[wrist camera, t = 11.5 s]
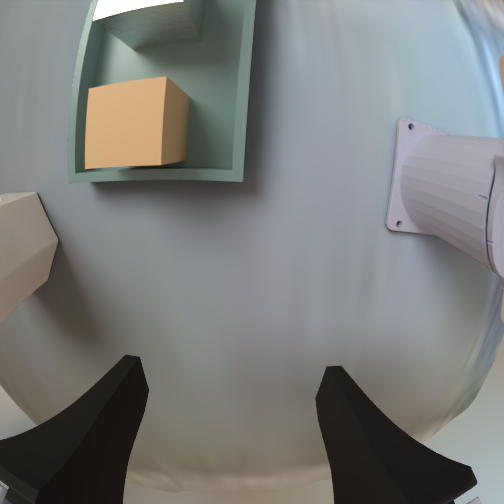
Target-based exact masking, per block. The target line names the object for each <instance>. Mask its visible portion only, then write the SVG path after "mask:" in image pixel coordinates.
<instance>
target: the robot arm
mask: <svg viewBox="0 0 504 504" xmlns="http://www.w3.org/2000/svg"><path fill="white" fill-rule="evenodd" d="M409 124H410V125H411V130H410V129H409V127H408V125H409ZM398 221H399V225H398V226H396V223H397V222H398ZM386 227H387V228H388V229H390V230H394V231H403V232H412V233H420V234H429V235H436V236H438V237H440V238H441V239H443V240H445V241H447V242H448V243H450V244H452V245H453V246H455V247H456V248H458V249H460V250H461V251H463V252H465V253H466V254H468V255H469V256H471V257H472V258H474V259H475V260H477V261H478V262H480V263H482V264H483V265H484V266H486V267H487V268H489V269H490V270H492V271H493V272H495V273H496V274H498V276H499V277H500V279H501V289H503V290H504V139H495V138H486V137H474V136H458V135H450V134H448V133H445V132H443V131H440V130H437V129H435V128H432V127H429V126H427V125H424V124H421V123H418V122H415V121H412V120H409V119H406V118H401V119H399V120H398V122H397V135H396V148H395V159H394V168H393V177H392V184H391V191H390V198H389V204H388V211H387V216H386ZM148 393H149V388H148V385H147V381H146V378H145V374H144V371H143V367H142V363H141V359H140V357H137V356H131V355H125V356H124V357H123V358H122V359H121V360H120V361H119V362H118V363H117V364H116V365H115V366H114V367H113V368H111V369H110V370H109V371H108V372H107V373H106V374H105V375H104V376H103V377H102V378H101V379H100V380H99V381H98V382H97V383H96V384H95V385H94V386H93V387H92V388H90V389H89V390H88V391H87V392H86V393H85V394H84V395H82V396H81V397H80V398H79V399H78V400H76V401H75V402H74V403H73V404H71V405H70V406H69V407H67V408H66V409H65V410H63V411H62V412H60V413H59V414H57V415H56V416H54V417H53V418H51V419H49V420H48V421H46V422H44V423H42V424H40V425H39V426H37V427H35V428H33V429H30V430H28V431H26V432H24V433H21V434H19V435H16V436H13V437H10V438H7V439H3V440H0V480H1V481H2V482H3V483H4V484H6V485H7V486H8V487H9V489H8V490H7V489H5V488H4V487H3V486H2V485H1V484H0V504H123V494H124V485H125V478H126V472H127V466H128V461H129V457H130V453H131V450H132V447H133V444H134V441H135V438H136V435H137V432H138V429H139V426H140V423H141V421H142V418H143V415H144V412H145V407H146V403H147V398H148ZM315 399H316V407H317V415H318V421H319V425H320V429H321V433H322V437H323V440H324V444H325V448H326V452H327V456H328V459H329V463H330V468H331V474H332V482H333V492H334V504H455V503H454V500H455V499H456V498H458V497H459V496H461V495H462V494H464V493H465V492H467V491H468V490H470V489H471V488H473V487H474V486H475V485H476V484H477V480H476V477H475V475H474V473H473V471H472V469H471V467H470V466H467V465H464V464H462V463H459V462H456V461H453V460H451V459H448V458H446V457H444V456H442V455H440V454H438V453H436V452H434V451H433V450H431V449H429V448H427V447H426V446H424V445H423V444H421V443H419V442H418V441H416V440H415V439H413V438H412V437H411V436H409V435H408V434H407V433H405V432H404V431H403V430H402V429H400V428H399V427H398V426H397V425H395V424H394V423H393V422H392V421H391V420H390V419H389V418H388V417H387V416H386V415H385V414H384V413H382V411H381V410H380V409H379V408H378V407H377V406H376V405H375V404H374V403H373V402H372V401H371V400H370V399H369V398H368V397H367V396H366V394H365V393H364V392H363V391H362V390H361V389H360V387H359V386H358V385H357V384H356V383H355V382H354V380H353V379H352V378H351V377H350V376H349V374H348V373H347V372H346V371H345V370H344V368H343V367H342V366H329V367H326V370H325V373H324V376H323V379H322V382H321V385H320V387H319V390H318V393H317V396H316V398H315ZM467 504H481V501H480V499H479V497H476V498H475V499H473V500H472V501H470V502H468V503H467Z"/></svg>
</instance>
